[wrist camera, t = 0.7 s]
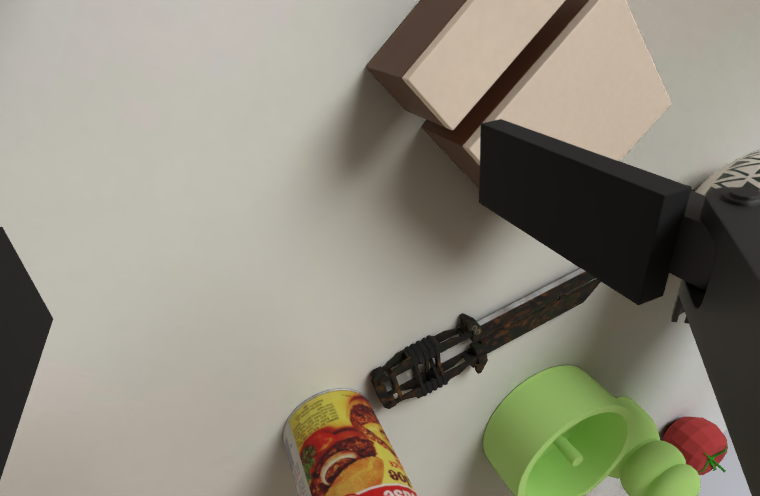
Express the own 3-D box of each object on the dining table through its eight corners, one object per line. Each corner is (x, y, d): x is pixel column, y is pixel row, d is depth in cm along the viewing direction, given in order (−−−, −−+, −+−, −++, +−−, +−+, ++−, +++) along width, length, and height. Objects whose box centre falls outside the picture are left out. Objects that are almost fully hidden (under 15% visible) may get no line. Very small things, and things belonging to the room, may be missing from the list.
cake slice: (364, 66, 28) (407, 80, 23) (499, -97, 27) (573, -118, 22) (406, 110, 31) (452, 131, 26) (532, -38, 30) (606, -46, 25)
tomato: (653, 456, 69) (702, 501, 63) (648, 430, 65) (700, 476, 59) (695, 423, 70) (747, 465, 64) (692, 396, 66) (748, 438, 59)
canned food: (379, 430, 43) (444, 556, 33) (300, 472, 42) (343, 617, 32) (358, 373, 39) (423, 497, 29) (268, 417, 37) (306, 565, 28)
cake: (420, 126, 32) (469, 149, 27) (543, -17, 30) (617, -21, 26) (497, 208, 37) (548, 239, 32) (603, 89, 36) (672, 103, 31)
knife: (607, 250, 45) (619, 256, 44) (602, 303, 48) (613, 310, 47) (364, 354, 38) (370, 365, 37) (378, 407, 42) (384, 418, 41)
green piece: (460, 464, 51) (536, 582, 41) (529, 356, 47) (633, 456, 37) (594, 469, 64) (678, 559, 53) (657, 384, 60) (759, 463, 50)
